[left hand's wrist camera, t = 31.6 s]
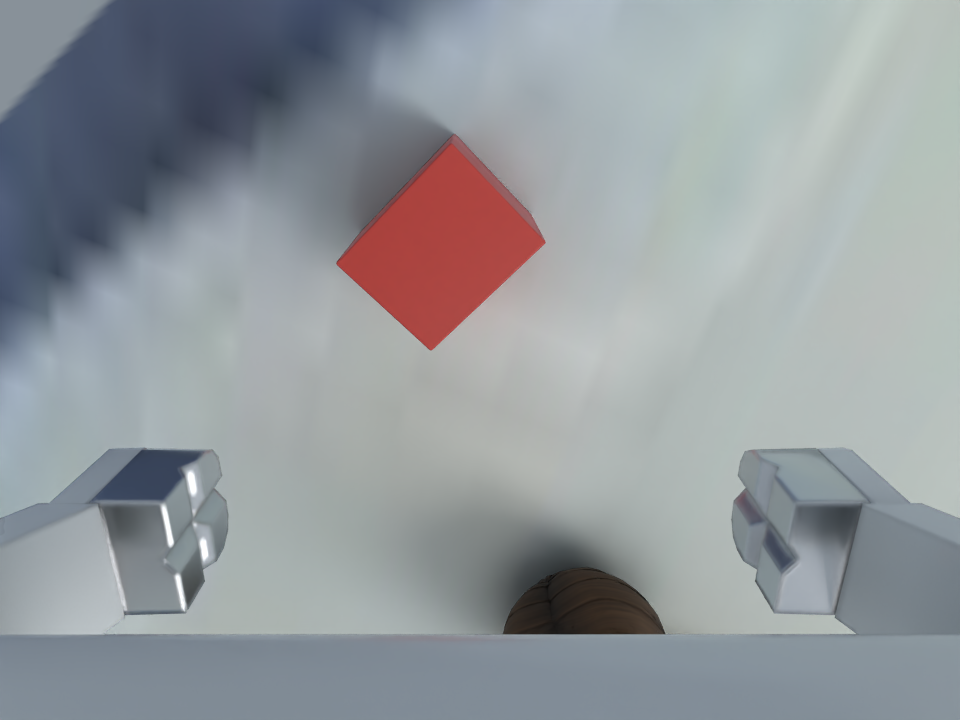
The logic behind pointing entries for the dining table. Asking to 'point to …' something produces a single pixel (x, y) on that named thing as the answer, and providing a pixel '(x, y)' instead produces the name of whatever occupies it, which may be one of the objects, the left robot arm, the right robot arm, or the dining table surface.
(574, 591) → the figurine
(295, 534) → the dining table surface
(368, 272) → the block
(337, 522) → the dining table surface
